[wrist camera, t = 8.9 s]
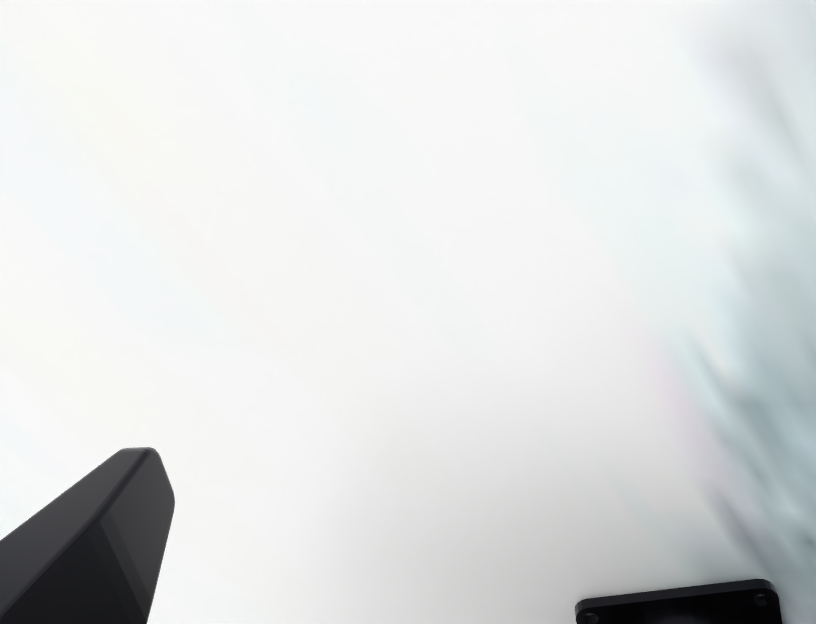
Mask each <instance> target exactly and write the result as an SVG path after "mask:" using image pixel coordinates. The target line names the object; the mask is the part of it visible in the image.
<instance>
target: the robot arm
mask: <svg viewBox="0 0 816 624" xmlns="http://www.w3.org/2000/svg"><path fill="white" fill-rule="evenodd" d="M174 506H175V498H174V493H173V489H172V487H171V484H170V481H169V479H168V476H167V473H166V471H165V468H164V466H163V463H162V460H161V458H160V455H159V453H158V452H157V451H156V450H155V449H154V448H150V447H139V448H125V449H121V450H120V451H118V452H117V453H115V454H114V455H113V456H111V457H110V458H109V459H107V460H106V461H105V462H103V463H102V464H101V465H99V466H98V467H97V468H95V469H94V470H93V471H91V472H90V473H89V474H87V475H86V476H85V477H84V478H82V479H81V480H80V481H78V482H77V483H76V484H74V485H73V486H72V487H70V488H69V489H68V490H66V491H65V492H64V493H62V494H61V495H60V496H58V497H57V498H56V499H55V500H53V501H52V502H51V503H49V504H48V505H47V506H45V507H44V508H43V509H41V510H40V511H39V512H37V513H36V514H35V515H33V516H32V517H31V518H29V519H28V520H27V521H26V522H24V523H23V524H22V525H20V526H19V527H18V528H16V529H15V530H14V531H12V532H11V533H10V534H8V535H7V536H6V537H4V538H3V539H2V540H0V624H147V621H148V617H149V613H150V609H151V606H152V602H153V598H154V593H155V589H156V585H157V581H158V576H159V572H160V568H161V564H162V559H163V555H164V551H165V547H166V543H167V538H168V534H169V530H170V526H171V521H172V517H173V513H174ZM759 594H765V595H763V596H761V597H756V596H757V595H759ZM588 613H593V614H595V615H592V616H588V615H585V614H588ZM575 615H576V622H577V624H782V618H781V611H780V604H779V598H778V595H777V593H776V591H775V589H774V586H773V584H771V583H770V582H769V581H767V580H764V579H752V580H744V581H735V582H727V583H718V584H710V585H701V586H693V587H684V588H675V589H667V590H658V591H650V592H641V593H633V594H624V595H616V596H607V597H599V598H590V599H585V600H581V601H580V602H579V603H577V605H576V607H575Z"/></svg>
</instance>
